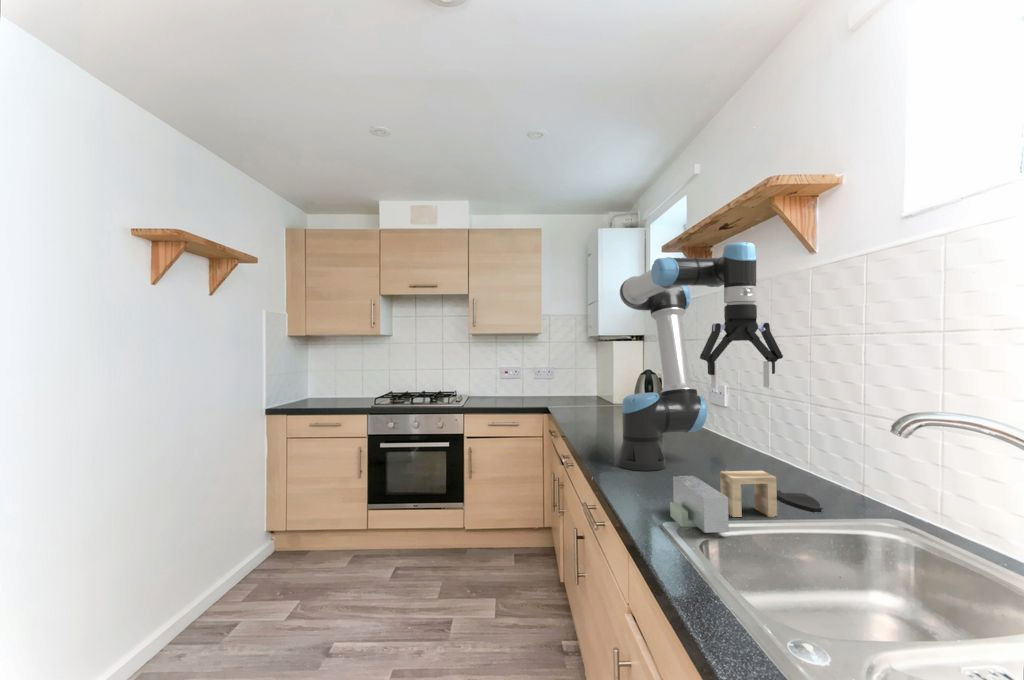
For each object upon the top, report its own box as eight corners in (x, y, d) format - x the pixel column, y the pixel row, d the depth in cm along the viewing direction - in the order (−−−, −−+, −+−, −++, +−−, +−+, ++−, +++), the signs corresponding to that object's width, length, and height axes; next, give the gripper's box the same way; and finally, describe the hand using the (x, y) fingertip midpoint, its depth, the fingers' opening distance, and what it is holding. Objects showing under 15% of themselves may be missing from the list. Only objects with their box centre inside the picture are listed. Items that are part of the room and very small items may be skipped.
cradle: (670, 515, 114) (670, 502, 114) (709, 514, 115) (709, 500, 115) (681, 527, 107) (681, 512, 107) (723, 525, 108) (723, 511, 108)
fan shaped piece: (793, 514, 116) (793, 507, 116) (771, 496, 130) (771, 490, 130) (832, 515, 115) (832, 508, 115) (806, 497, 128) (806, 491, 128)
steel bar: (673, 505, 118) (673, 476, 118) (694, 505, 118) (693, 475, 118) (704, 532, 101) (703, 498, 101) (728, 531, 101) (728, 497, 101)
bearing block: (720, 509, 118) (720, 471, 119) (762, 508, 119) (762, 470, 119) (733, 518, 112) (732, 478, 113) (777, 516, 113) (776, 477, 113)
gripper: (697, 303, 122) (698, 389, 122) (797, 302, 123) (798, 388, 123) (686, 305, 130) (687, 386, 130) (780, 304, 131) (781, 385, 130)
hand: (741, 387), depth 126 cm, fingers open, 13 cm apart
